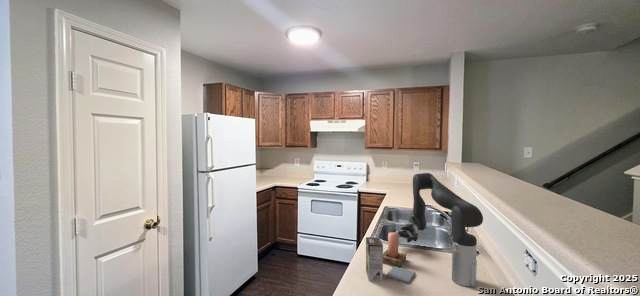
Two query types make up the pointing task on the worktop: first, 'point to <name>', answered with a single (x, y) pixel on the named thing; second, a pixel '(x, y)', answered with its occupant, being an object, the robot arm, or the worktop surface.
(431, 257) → the worktop surface
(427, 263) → the worktop surface
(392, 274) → the mat
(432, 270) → the worktop surface
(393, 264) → the socket block
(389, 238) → the plug
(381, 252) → the coffee box
